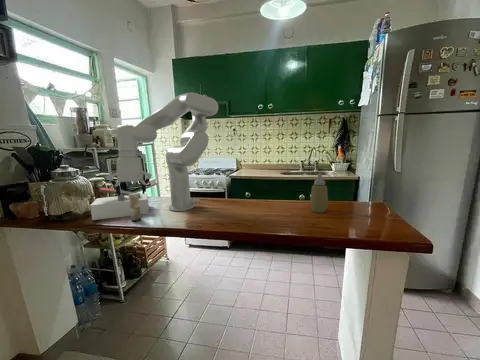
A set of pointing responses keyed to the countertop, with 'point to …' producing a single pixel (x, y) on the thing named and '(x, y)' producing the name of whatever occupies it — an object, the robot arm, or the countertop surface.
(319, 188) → the squeeze bottle
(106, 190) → the rocker
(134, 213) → the dowel
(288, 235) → the countertop surface
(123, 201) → the switch base
